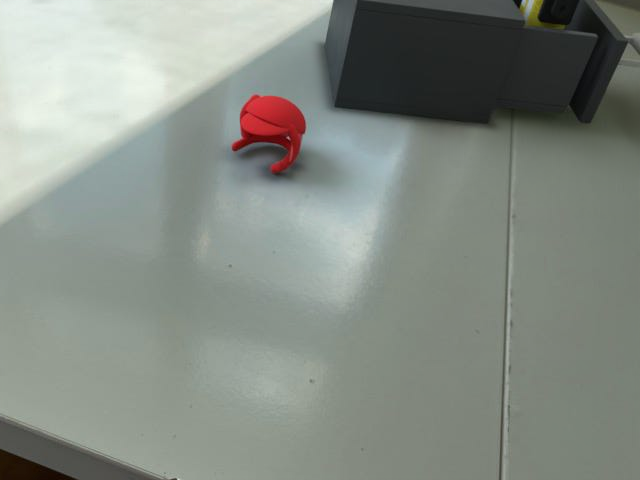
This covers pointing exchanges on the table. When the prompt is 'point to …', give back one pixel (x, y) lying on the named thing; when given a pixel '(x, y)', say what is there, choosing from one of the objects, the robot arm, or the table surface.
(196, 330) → the table surface
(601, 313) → the table surface
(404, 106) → the cabinet
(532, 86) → the drawer
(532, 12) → the supplement bottle
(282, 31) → the table surface
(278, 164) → the red domed clip
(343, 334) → the table surface
